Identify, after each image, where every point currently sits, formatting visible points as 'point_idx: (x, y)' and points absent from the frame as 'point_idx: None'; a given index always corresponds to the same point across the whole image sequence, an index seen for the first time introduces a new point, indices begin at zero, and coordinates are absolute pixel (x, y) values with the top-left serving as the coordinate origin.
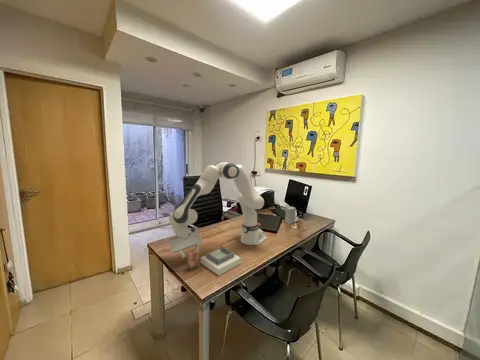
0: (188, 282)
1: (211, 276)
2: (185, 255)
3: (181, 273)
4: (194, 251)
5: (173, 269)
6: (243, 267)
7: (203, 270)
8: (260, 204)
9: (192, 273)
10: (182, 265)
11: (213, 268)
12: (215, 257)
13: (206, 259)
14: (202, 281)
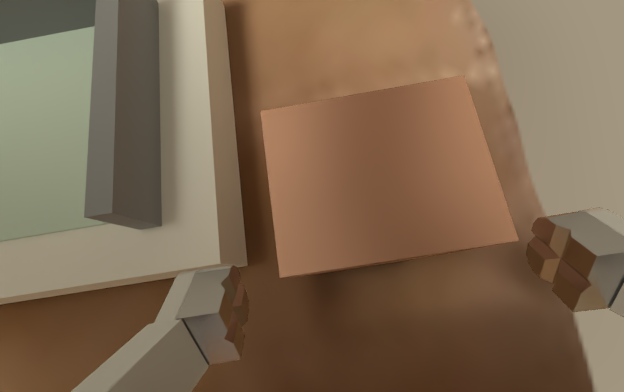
0: (474, 45)
1: (275, 25)
2: (558, 220)
3: None
4: (331, 188)
5: (577, 331)
6: None
7: None
8: None
9: None
10: (452, 351)
11: (216, 38)
12: (99, 11)
13: (190, 163)
14: (366, 6)
